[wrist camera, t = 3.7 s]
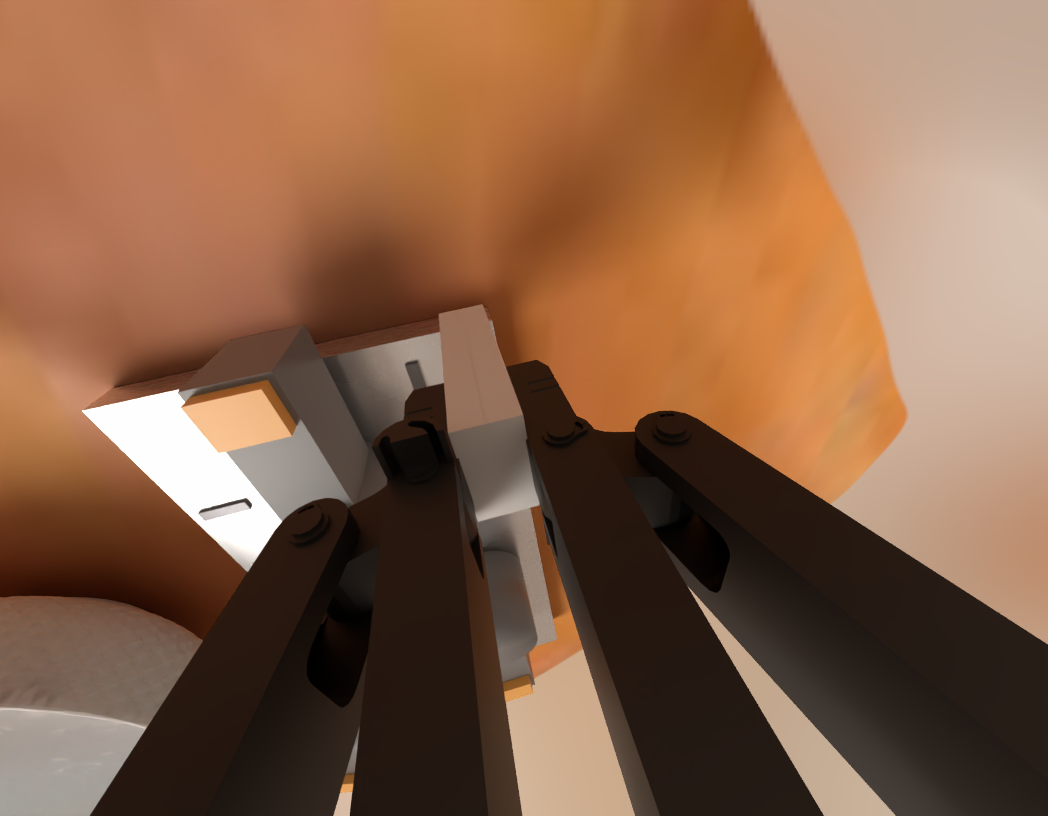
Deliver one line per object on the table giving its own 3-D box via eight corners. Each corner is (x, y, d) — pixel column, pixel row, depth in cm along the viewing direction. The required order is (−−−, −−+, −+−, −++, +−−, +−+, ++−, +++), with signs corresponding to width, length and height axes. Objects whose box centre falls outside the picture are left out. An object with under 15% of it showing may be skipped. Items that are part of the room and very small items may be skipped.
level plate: (111, 388, 15) (69, 420, 13) (486, 306, 16) (494, 326, 14) (375, 672, 31) (372, 704, 29) (551, 620, 33) (559, 647, 31)
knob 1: (420, 497, 19) (419, 577, 16) (331, 520, 19) (309, 608, 15) (336, 312, 13) (304, 371, 10) (206, 340, 13) (123, 412, 9)
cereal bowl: (316, 618, 26) (285, 752, 20) (145, 719, 28) (74, 864, 22) (-13, 484, 16) (-256, 671, 10) (-232, 656, 18) (-528, 885, 13)
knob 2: (442, 563, 22) (445, 641, 19) (515, 543, 23) (532, 616, 19) (478, 638, 28) (485, 709, 24) (535, 621, 28) (551, 688, 25)
